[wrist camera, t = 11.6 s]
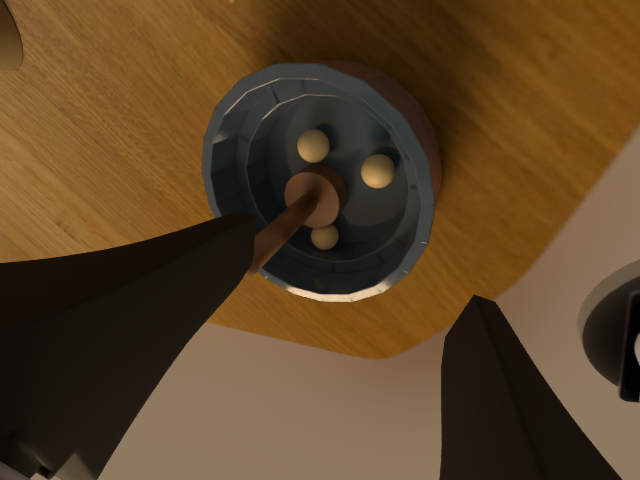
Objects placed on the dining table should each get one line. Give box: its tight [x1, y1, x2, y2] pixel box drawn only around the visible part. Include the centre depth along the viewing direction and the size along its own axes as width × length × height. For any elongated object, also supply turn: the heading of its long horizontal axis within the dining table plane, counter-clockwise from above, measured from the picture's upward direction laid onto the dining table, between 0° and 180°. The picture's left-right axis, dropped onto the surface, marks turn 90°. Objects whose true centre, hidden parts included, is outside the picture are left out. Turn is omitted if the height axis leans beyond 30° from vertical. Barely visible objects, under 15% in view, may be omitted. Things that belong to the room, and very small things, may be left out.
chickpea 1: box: [297, 129, 329, 163], centre depth 17 cm, size 2×2×2 cm
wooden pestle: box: [244, 164, 348, 277], centre depth 16 cm, size 4×4×9 cm
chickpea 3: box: [361, 154, 395, 188], centre depth 17 cm, size 2×2×2 cm
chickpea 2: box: [311, 224, 339, 250], centre depth 20 cm, size 2×2×2 cm
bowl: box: [202, 60, 443, 302], centre depth 17 cm, size 12×12×5 cm
